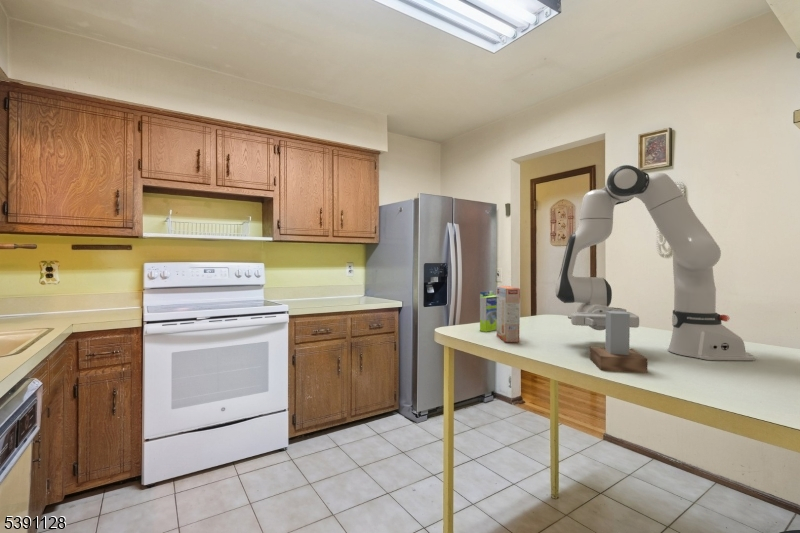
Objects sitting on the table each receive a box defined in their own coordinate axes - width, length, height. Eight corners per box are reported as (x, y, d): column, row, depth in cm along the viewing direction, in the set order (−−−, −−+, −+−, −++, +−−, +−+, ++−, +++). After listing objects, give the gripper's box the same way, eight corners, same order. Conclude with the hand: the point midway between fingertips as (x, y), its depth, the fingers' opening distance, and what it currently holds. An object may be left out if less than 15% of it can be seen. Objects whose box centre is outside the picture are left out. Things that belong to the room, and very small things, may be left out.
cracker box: (520, 343, 145) (520, 288, 145) (504, 343, 145) (504, 288, 145) (510, 335, 159) (510, 285, 159) (496, 335, 159) (496, 285, 159)
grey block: (623, 350, 116) (623, 311, 116) (629, 354, 111) (629, 313, 111) (605, 350, 117) (605, 311, 117) (610, 354, 112) (610, 313, 112)
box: (486, 332, 166) (486, 292, 166) (478, 331, 170) (478, 292, 169) (500, 329, 174) (500, 291, 173) (492, 328, 177) (492, 290, 176)
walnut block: (631, 361, 119) (631, 348, 119) (647, 372, 107) (647, 358, 107) (589, 359, 122) (590, 346, 122) (600, 370, 110) (600, 356, 110)
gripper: (566, 307, 136) (575, 312, 123) (630, 308, 132) (646, 314, 118) (566, 324, 137) (574, 332, 123) (629, 327, 132) (646, 335, 119)
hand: (610, 323), depth 121 cm, fingers open, 8 cm apart
